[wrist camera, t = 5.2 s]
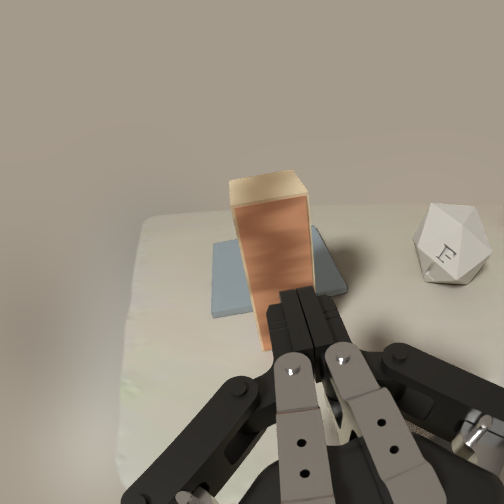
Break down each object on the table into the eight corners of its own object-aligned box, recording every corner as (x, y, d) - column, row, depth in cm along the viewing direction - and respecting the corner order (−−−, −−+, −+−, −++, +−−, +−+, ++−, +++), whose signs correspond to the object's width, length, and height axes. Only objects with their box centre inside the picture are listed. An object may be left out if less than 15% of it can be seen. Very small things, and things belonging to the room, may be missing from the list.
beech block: (305, 304, 31) (292, 169, 24) (317, 341, 27) (308, 192, 20) (257, 314, 32) (229, 180, 24) (262, 352, 27) (230, 206, 20)
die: (394, 265, 35) (402, 232, 26) (435, 213, 35) (449, 169, 26) (446, 310, 31) (472, 290, 22) (484, 254, 31) (513, 219, 22)
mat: (314, 230, 44) (313, 225, 43) (346, 292, 32) (346, 286, 31) (214, 248, 44) (213, 243, 44) (213, 318, 32) (211, 312, 32)
